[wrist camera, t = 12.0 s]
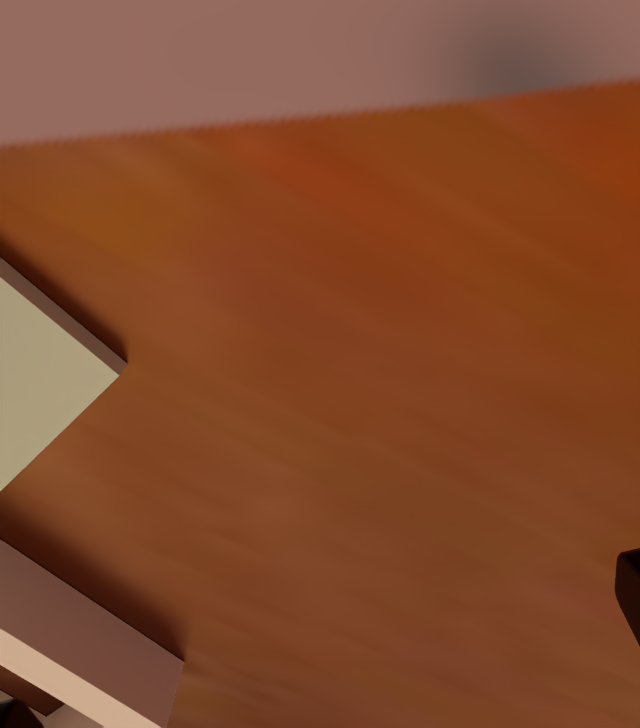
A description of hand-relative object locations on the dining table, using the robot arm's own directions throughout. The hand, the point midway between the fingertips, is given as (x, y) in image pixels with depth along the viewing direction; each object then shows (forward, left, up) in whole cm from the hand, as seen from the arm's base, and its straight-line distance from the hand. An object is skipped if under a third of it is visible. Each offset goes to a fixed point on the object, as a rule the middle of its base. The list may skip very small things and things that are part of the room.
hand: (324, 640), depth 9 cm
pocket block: (-2, +21, -11) cm, 24 cm away
